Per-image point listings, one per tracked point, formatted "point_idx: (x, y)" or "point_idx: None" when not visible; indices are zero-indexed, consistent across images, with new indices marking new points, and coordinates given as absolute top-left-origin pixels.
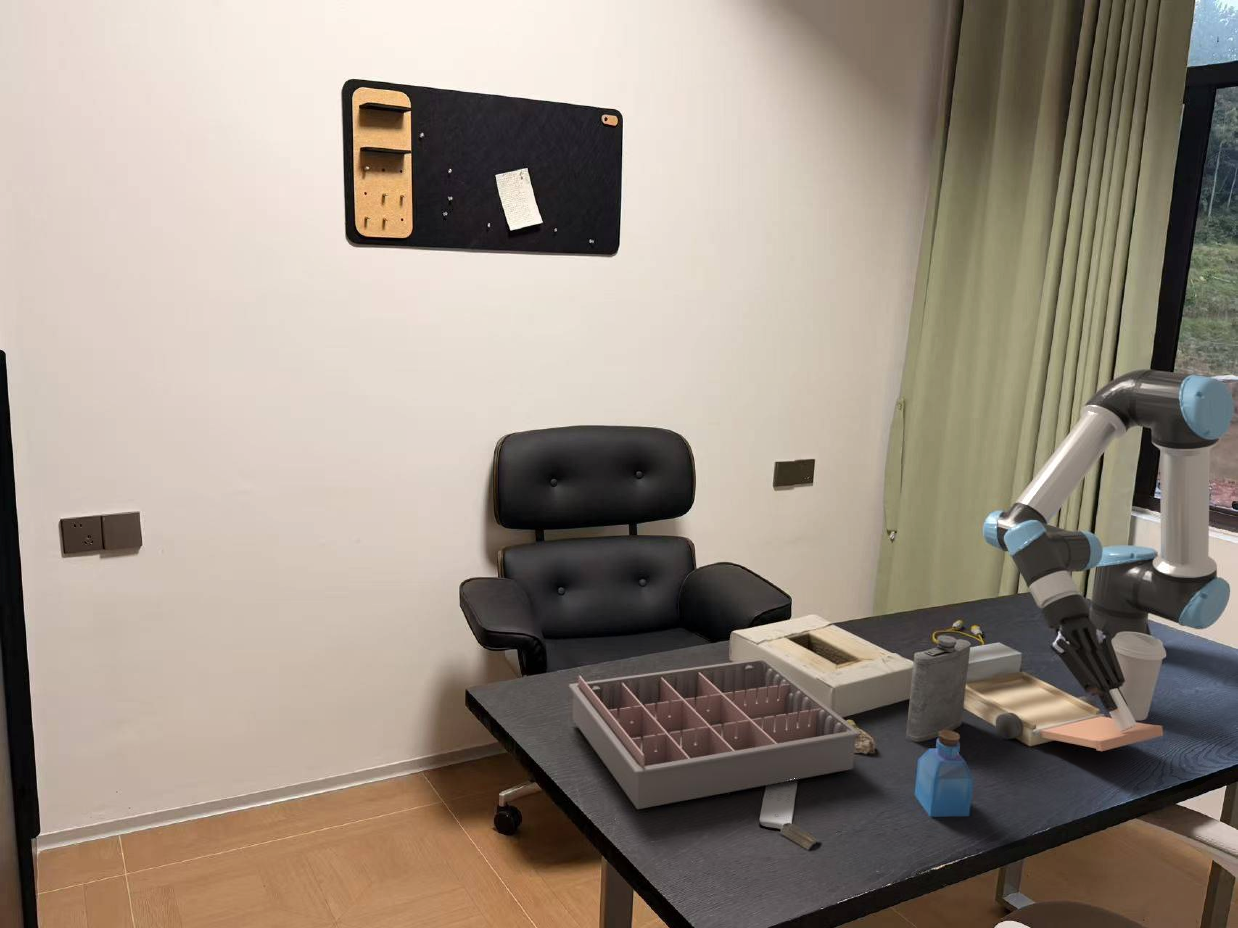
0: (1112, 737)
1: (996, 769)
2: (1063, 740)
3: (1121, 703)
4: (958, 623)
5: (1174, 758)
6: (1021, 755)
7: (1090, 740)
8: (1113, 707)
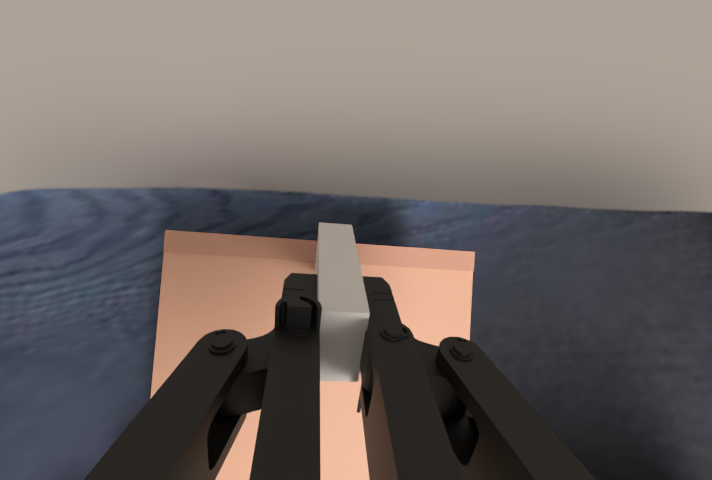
0: (412, 254)
1: (621, 423)
2: None
3: (343, 267)
4: None
5: (122, 264)
6: None
7: (470, 290)
8: (381, 280)
